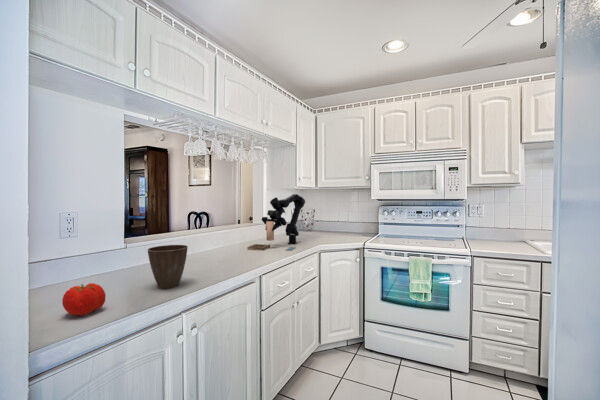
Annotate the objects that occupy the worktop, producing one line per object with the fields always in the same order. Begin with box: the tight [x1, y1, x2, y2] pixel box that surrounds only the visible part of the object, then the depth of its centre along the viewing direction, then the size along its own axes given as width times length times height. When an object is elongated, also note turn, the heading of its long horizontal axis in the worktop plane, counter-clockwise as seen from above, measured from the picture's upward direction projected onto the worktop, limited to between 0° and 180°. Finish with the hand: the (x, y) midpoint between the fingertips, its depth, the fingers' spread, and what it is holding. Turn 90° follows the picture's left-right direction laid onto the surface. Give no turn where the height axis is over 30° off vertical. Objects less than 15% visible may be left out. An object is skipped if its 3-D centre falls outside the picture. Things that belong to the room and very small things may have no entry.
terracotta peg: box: [265, 221, 275, 242], centre depth 194 cm, size 5×5×13 cm
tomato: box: [61, 282, 107, 317], centre depth 88 cm, size 11×11×9 cm
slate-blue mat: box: [284, 246, 296, 252], centre depth 196 cm, size 11×11×1 cm
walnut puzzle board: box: [246, 243, 271, 251], centre depth 195 cm, size 12×12×2 cm
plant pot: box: [147, 244, 188, 290], centre depth 114 cm, size 15×15×16 cm
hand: (269, 230), depth 193 cm, fingers closed on terracotta peg, 5 cm apart
